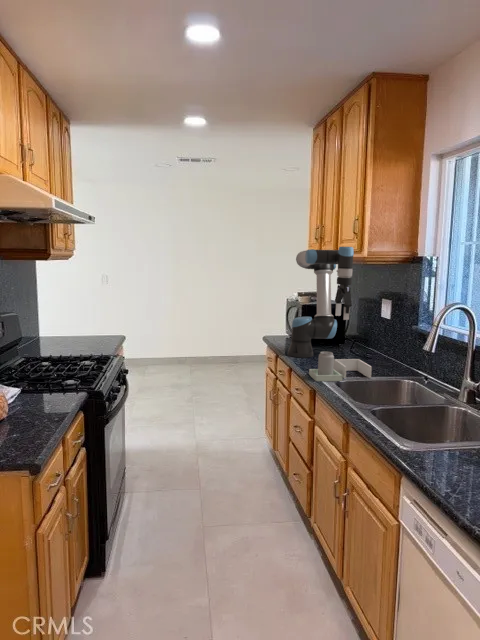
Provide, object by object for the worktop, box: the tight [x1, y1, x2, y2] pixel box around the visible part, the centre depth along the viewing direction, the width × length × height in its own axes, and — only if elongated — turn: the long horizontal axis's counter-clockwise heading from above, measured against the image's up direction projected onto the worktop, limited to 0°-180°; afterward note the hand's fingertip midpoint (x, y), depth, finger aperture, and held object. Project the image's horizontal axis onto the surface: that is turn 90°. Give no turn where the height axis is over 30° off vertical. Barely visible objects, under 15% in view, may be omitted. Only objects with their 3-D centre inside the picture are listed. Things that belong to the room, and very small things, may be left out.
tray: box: [308, 368, 343, 382], centre depth 236 cm, size 13×13×3 cm
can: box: [317, 351, 335, 375], centre depth 235 cm, size 8×8×12 cm
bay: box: [333, 358, 373, 379], centre depth 244 cm, size 17×14×6 cm
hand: (342, 317), depth 247 cm, fingers open, 13 cm apart
